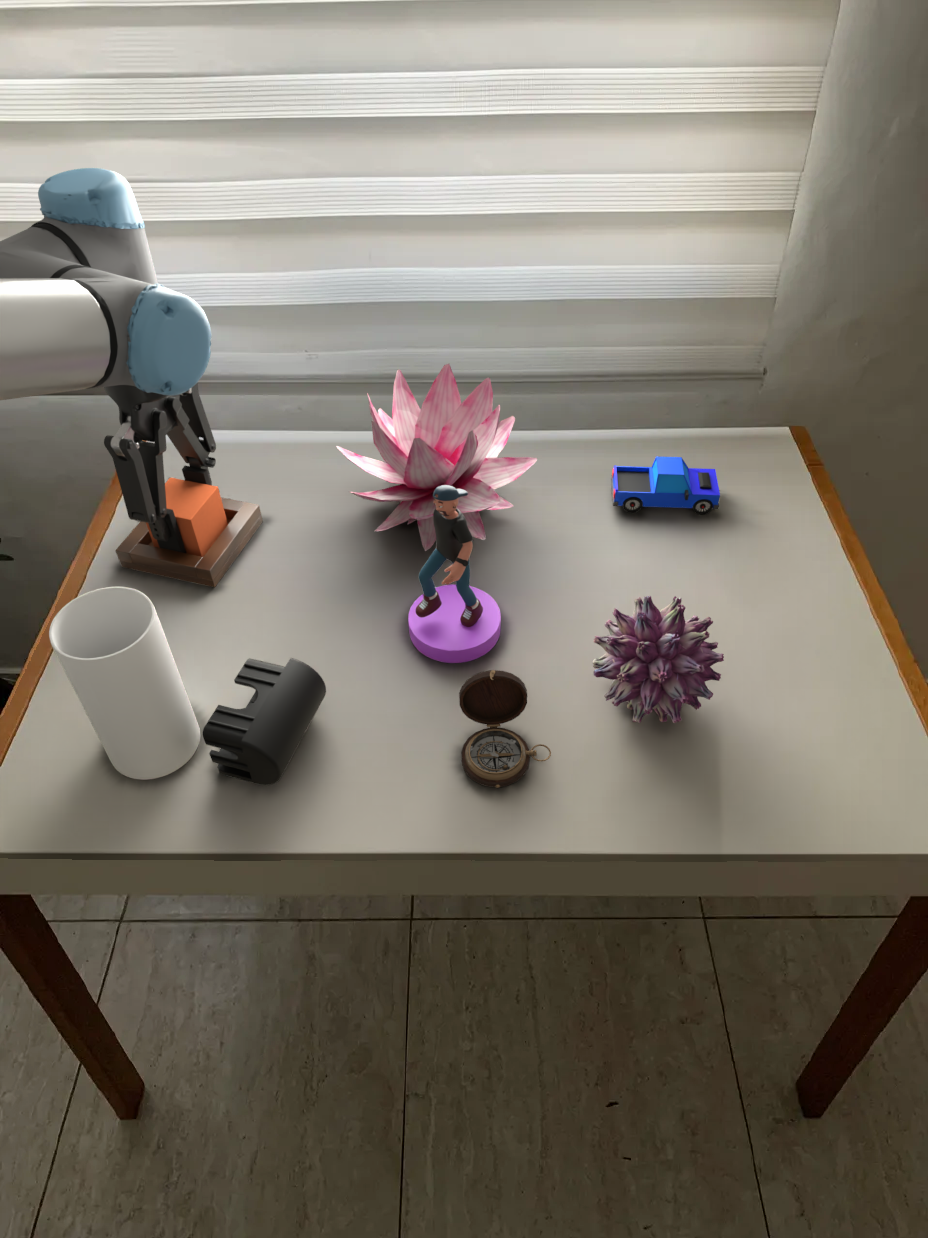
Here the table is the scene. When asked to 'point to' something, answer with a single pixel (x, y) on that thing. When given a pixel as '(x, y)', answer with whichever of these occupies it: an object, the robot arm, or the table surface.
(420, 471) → the decorative flower
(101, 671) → the cup
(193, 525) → the orange cube
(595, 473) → the table surface
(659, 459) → the toy car
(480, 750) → the compass
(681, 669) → the flower
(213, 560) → the brown wooden tray
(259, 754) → the end cap
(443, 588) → the figurine
